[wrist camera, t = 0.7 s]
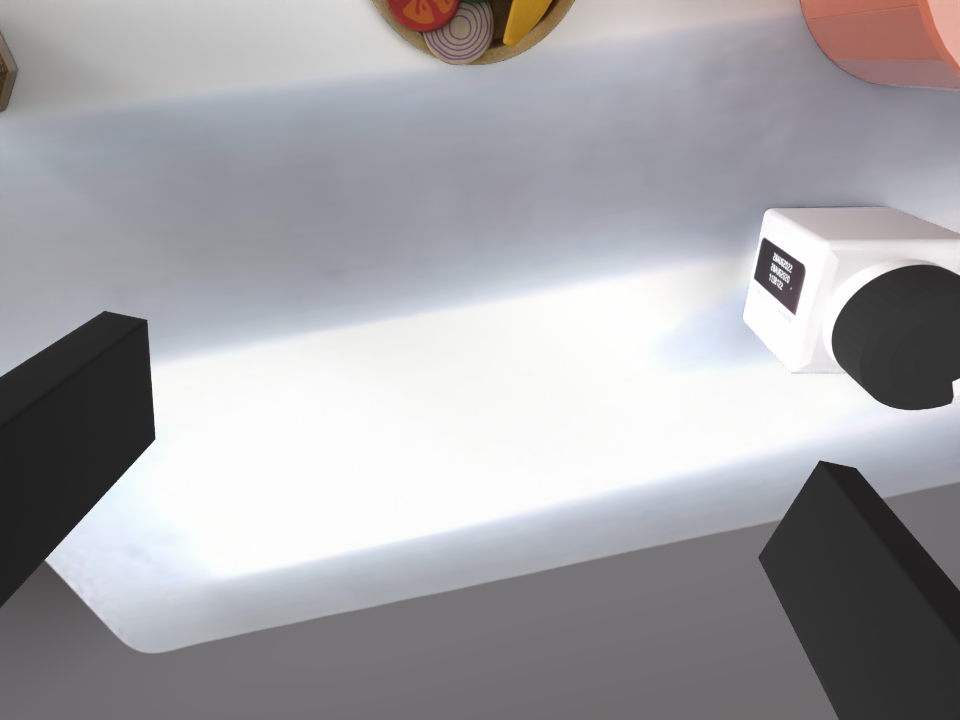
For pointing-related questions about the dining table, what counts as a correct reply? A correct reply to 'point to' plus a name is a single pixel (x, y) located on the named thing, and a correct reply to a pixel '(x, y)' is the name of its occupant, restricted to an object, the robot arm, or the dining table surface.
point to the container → (861, 300)
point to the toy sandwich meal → (473, 26)
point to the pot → (879, 42)
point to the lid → (943, 29)
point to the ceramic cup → (6, 74)
